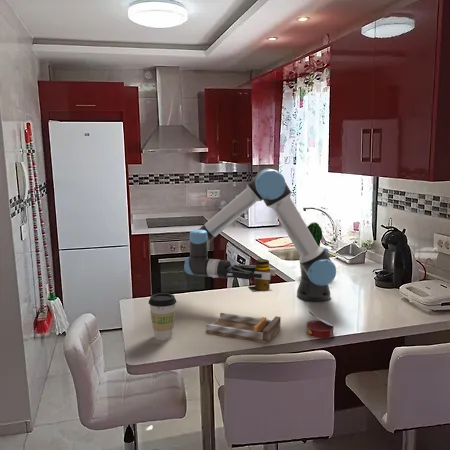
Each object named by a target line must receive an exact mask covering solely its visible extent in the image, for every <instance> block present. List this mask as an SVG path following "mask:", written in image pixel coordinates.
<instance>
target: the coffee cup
mask: <svg viewBox="0 0 450 450" xmlns="http://www.w3.org/2000/svg"><path fill="white" fill-rule="evenodd" d="M176 303H177V298H176V297H175V295H174V294H172V293H167V292H161V293H160V292H159V293H156V294H152V295H151V296H150V298H149V299H148V305H149V307H150V309H149V310H150V311H149V312H150V320H151V324H152V329H153V336H154V339H155V340H156V341H168V340H170V339H172V337H173V329H174V323H175V322H174V321H175V313H176Z"/></svg>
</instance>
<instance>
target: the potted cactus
mask: <svg viewBox="0 0 450 450" xmlns="http://www.w3.org/2000/svg"><path fill="white" fill-rule="evenodd" d="M307 227H308V229H309V231H310V233H311V234H312V236H313V238H314V239H315V241H316V243H317V245H318V246H320V247H321V241H322V240H323V233H324V231H323V229H322V227H321V225H319V223H318V222H316V221H313V222H310V223H309V224H308V225H307ZM298 258H299V260H300V254H299V253H298ZM299 266H300V267H299V268H300V272H301V271H302V265H301V263H300V262H299Z"/></svg>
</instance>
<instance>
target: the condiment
mask: <svg viewBox="0 0 450 450" xmlns="http://www.w3.org/2000/svg"><path fill="white" fill-rule="evenodd" d="M255 265H256V267H255V271H256V272H266V273H270V268H271V267H270V261H269V260H268V259H263V258H260V259H256V260H255ZM270 284H271V279H270V280H264V279H255V278H254V285H249V286H247V288H248V289H249V291H250V292H251V293H256V292H257V293H259V292H262V293H263V292H264V293H265V292H273V289H271V285H270Z"/></svg>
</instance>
